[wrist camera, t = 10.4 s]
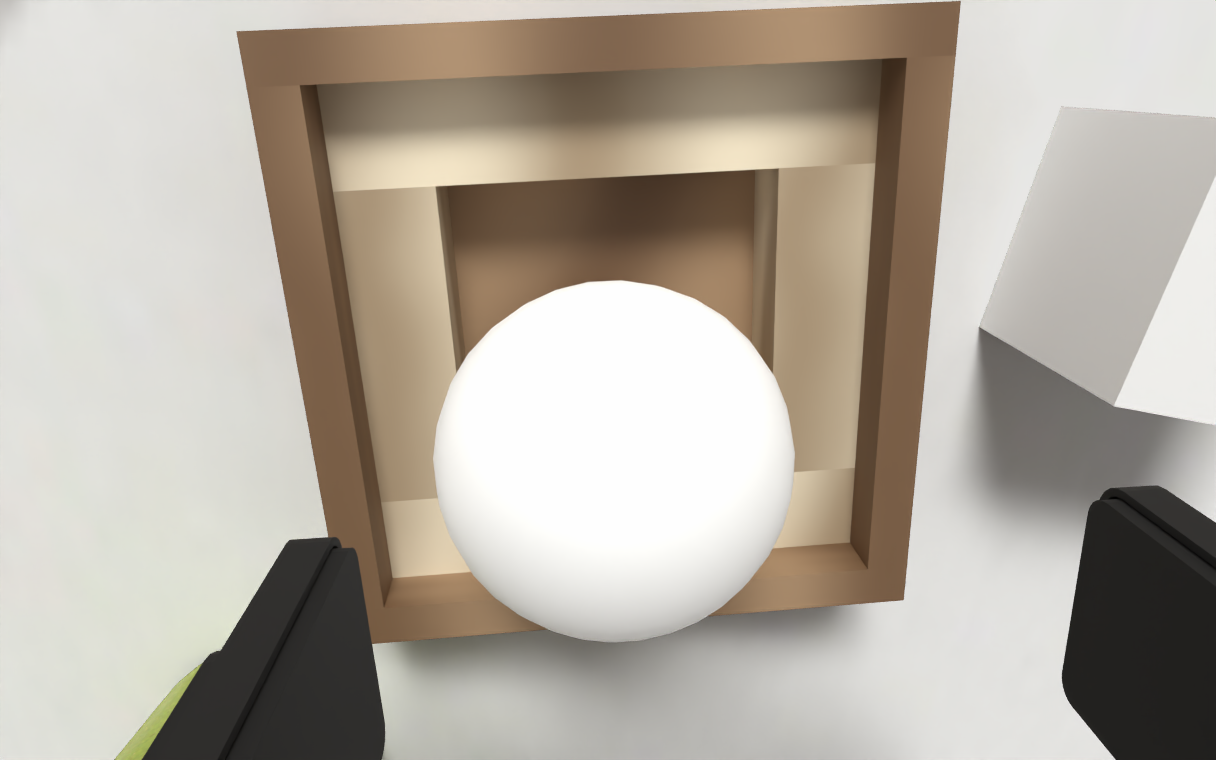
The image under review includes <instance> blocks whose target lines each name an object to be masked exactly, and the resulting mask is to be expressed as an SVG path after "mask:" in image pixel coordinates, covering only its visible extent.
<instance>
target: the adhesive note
mask: <svg viewBox="0 0 1216 760" xmlns="http://www.w3.org/2000/svg"><path fill="white" fill-rule="evenodd" d="M979 327H980V328H982V329H983V330H985V331H987V332H989V333H990V334H992V335H994V336H995V337H997V338H999V339H1000V340H1002V341H1004V342H1005V343H1007V344H1009V345H1011V346H1012V347H1014V348H1016V349H1017V350H1019V351H1021V352H1022V353H1024V354H1026V355H1028V356H1029V357H1031V358H1033V359H1034V360H1036V361H1038V362H1039V363H1041V364H1043V365H1044V366H1046V367H1048V368H1050V369H1051V370H1053V371H1055V372H1056V373H1058V374H1060V375H1061V376H1063V377H1065V378H1067V379H1068V380H1070V381H1072V382H1073V383H1075V384H1077V385H1078V386H1080V387H1082V388H1084V389H1085V390H1087V391H1089V392H1090V393H1092V394H1094V395H1095V396H1097V397H1099V398H1100V399H1102V400H1104V401H1106V402H1107V403H1109V404H1111V405H1112V406H1115V407H1120V408H1125V409H1131V410H1136V411H1142V412H1147V413H1152V414H1158V415H1163V416H1168V417H1174V418H1179V419H1184V420H1190V421H1195V422H1201V423H1206V424H1211V425H1216V118H1214V117H1200V116H1186V115H1173V114H1159V113H1145V112H1131V111H1117V110H1103V109H1090V108H1076V107H1062V106H1061V108H1060V111H1059V114H1058V116H1057V119H1056V122H1055V125H1054V127H1053V130H1052V133H1051V135H1050V138H1049V141H1048V143H1047V146H1046V149H1045V151H1044V154H1043V157H1042V159H1041V162H1040V165H1039V167H1038V170H1037V173H1036V176H1035V178H1034V181H1033V184H1032V186H1031V189H1030V192H1029V194H1028V197H1027V200H1026V202H1025V205H1024V208H1023V210H1022V213H1021V216H1020V218H1019V221H1018V224H1017V227H1016V229H1015V232H1014V235H1013V237H1012V240H1011V243H1010V245H1009V248H1008V251H1007V253H1006V256H1005V259H1004V261H1003V264H1002V267H1001V269H1000V272H999V275H998V277H997V280H996V283H995V286H994V288H993V291H992V294H991V296H990V299H989V302H988V304H987V307H986V310H985V312H984V315H983V318H982V320H981V323H980V326H979Z"/></svg>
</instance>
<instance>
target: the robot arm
mask: <svg viewBox="0 0 1216 760" xmlns="http://www.w3.org/2000/svg"><path fill="white" fill-rule="evenodd" d="M1062 683H1063V688H1064V692H1065V695H1066V697H1067V699H1068V701H1069V703H1070V704H1071V706H1072V707H1073V708H1074V709H1075V711H1076V712H1077V713H1078V714H1079V715H1080V717H1081V718H1082V719H1083V720H1084V722H1085V723H1086V724H1087V725H1088V726H1089V728H1090V729H1091V730H1092V731H1093V732H1094V734H1095V735H1096V736H1097V737H1098V739H1099V740H1100V741H1101V742H1102V743H1103V745H1104V746H1105V747H1106V748H1107V750H1108V751H1109V752H1110V753H1111V754H1112V756H1113V757H1114V758H1115V759H1116V760H1216V523H1215V522H1214V521H1212V520H1211V519H1209V518H1208V517H1206V516H1205V515H1203V514H1202V513H1200V512H1199V511H1197V510H1196V509H1194V508H1193V507H1191V506H1190V505H1188V504H1187V503H1185V502H1184V501H1182V500H1181V499H1179V498H1178V497H1176V496H1175V495H1173V494H1172V493H1170V492H1169V491H1167V490H1166V489H1164V488H1162V487H1159V486H1139V487H1123V488H1110V489H1108V490H1106V491H1105V492H1104V493H1103V495H1102V496H1101V498H1100V500H1097V501H1095V502H1093V503H1092V505H1091V506H1090V508H1089V511H1088V516H1087V522H1086V528H1085V534H1084V541H1083V547H1082V553H1081V559H1080V565H1079V572H1078V578H1077V584H1076V590H1075V596H1074V602H1073V609H1072V615H1071V621H1070V627H1069V633H1068V639H1067V646H1066V652H1065V658H1064V664H1063V670H1062ZM384 743H385V722H384V715H383V709H382V703H381V697H380V691H379V684H378V678H377V672H376V666H375V660H374V654H373V647H372V641H371V635H370V629H369V623H368V617H367V610H366V604H365V598H364V592H363V586H362V580H361V573H360V567H359V561H358V556H357V553H356V550H355V549H354V548H353V547H352V548H342V545H341V543H340V540H339V539H338V538H337V537H327V538H311V539H295V540H289V541H288V542H287V543H286V545H285V546H284V548H283V550H282V551H281V553H280V555H279V556H278V558H277V559H276V561H275V563H274V564H273V566H272V568H271V569H270V571H269V573H268V574H267V576H266V578H265V579H264V581H263V582H262V584H261V586H260V587H259V589H258V591H257V592H256V594H255V596H254V597H253V599H252V600H251V602H250V604H249V605H248V607H247V609H246V610H245V612H244V614H243V615H242V617H241V618H240V620H239V622H238V623H237V625H236V627H235V628H234V630H233V632H232V633H231V635H230V636H229V638H228V640H227V641H226V643H225V645H224V646H223V648H222V650H221V651H216V652H214V653H212V654H210V655H209V656H208V657H207V658H206V659H205V661H204V662H203V663H202V665H201V666H200V668H199V669H198V671H197V673H196V674H195V676H194V677H193V679H192V680H191V682H190V684H189V685H188V687H187V688H186V690H185V692H184V693H183V695H182V696H181V698H180V700H179V701H178V703H177V704H176V706H175V707H174V709H173V711H172V712H171V714H170V715H169V717H168V719H167V720H166V722H165V723H164V725H163V727H162V728H161V730H160V731H159V733H158V734H157V736H156V738H155V739H154V741H153V742H152V744H151V746H150V747H149V749H148V750H147V752H146V754H145V755H144V757H143V758H142V760H381V759H382V755H383V751H384Z"/></svg>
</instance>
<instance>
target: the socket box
mask: <svg viewBox="0 0 1216 760" xmlns="http://www.w3.org/2000/svg"><path fill="white" fill-rule="evenodd" d="M960 3H961V1H952V2H928V3H904V4H880V5H856V6H832V7H808V8H785V9H761V10H737V11H713V12H689V13H665V14H641V15H618V16H594V17H570V18H546V19H522V20H498V21H475V22H451V23H427V24H403V25H379V26H355V27H331V28H308V29H284V30H260V31H236V32H237V37H238V43H239V48H240V54H241V59H242V65H243V70H244V76H245V81H246V87H247V92H248V98H249V103H250V109H251V114H252V119H253V125H254V130H255V136H256V141H257V147H258V152H259V158H260V163H261V169H262V174H263V180H264V185H265V191H266V196H267V202H268V207H269V213H270V218H271V224H272V229H273V235H274V240H275V246H276V251H277V257H278V262H279V268H280V273H281V279H282V284H283V290H284V295H285V301H286V306H287V312H288V317H289V323H290V328H291V334H292V339H293V345H294V350H295V356H296V361H297V367H298V372H299V378H300V383H301V389H302V394H303V400H304V405H305V411H306V416H307V422H308V427H309V433H310V438H311V444H312V449H313V455H314V460H315V466H316V471H317V476H318V482H319V487H320V493H321V498H322V504H323V509H324V515H325V520H326V526H327V531H328V537H337V538H338V539H339V540H340V543H341V545H342V548H352V547H353V548H354V549H355V550H356V553H357V556H358V561H359V567H360V573H361V580H362V586H363V592H364V598H365V604H366V610H367V617H368V623H369V629H370V635H371V641H372V644H376V643H389V642H401V641H413V640H425V639H437V638H449V637H462V636H474V635H486V634H498V633H510V632H522V631H535V630H547V628H545V627H542V626H540V625H538V624H536V623H534V622H532V621H529V620H528V619H526V618H524V617H522V616H520V615H518V614H517V613H515V612H514V611H513V610H511V609H510V608H508V607H507V606H506V605H504V604H503V603H502V602H500V601H499V600H497V599H496V598H495V597H493V596H492V595H491V593H490V592H489V591H488V590H487V589H486V588H485V587H484V586H483V585H482V584H481V583H480V582H479V581H478V580H477V579H476V578H475V576H474V575H473V574H472V572H471V571H470V569H469V567H468V566H467V564H466V563H465V561H464V559H463V558H462V556H461V554H460V553H459V551H458V549H457V548H456V546H455V544H454V542H453V541H452V539H451V537H450V535H449V533H448V530H447V527H446V524H445V521H444V518H443V515H442V512H441V509H440V507H439V501H438V496H437V489H436V481H435V472H434V463H433V455H434V446H435V436H436V427H437V423H438V420H439V416H440V413H441V410H442V407H443V404H444V401H445V398H446V395H447V392H448V389H449V386H450V384H451V381H452V380H453V378H454V376H455V375H456V373H457V371H458V370H459V368H460V366H461V365H462V363H463V361H464V360H465V358H466V356H467V355H468V353H469V352H470V351H471V350H472V349H473V348H474V347H475V346H476V345H477V343H478V342H479V341H480V340H481V339H482V338H483V337H484V336H485V335H486V334H487V333H488V332H489V330H490V329H491V328H492V327H494V326H495V325H497V324H498V323H499V322H501V321H502V320H504V319H505V318H506V317H508V316H509V315H510V314H512V313H513V312H515V311H516V310H517V309H519V308H520V307H522V306H523V305H525V304H526V303H528V302H531V301H533V300H535V299H537V298H539V297H541V296H544V295H546V294H548V293H550V292H552V291H555V290H557V289H561V288H565V287H570V286H574V285H578V284H582V283H586V282H597V281H619V280H623V281H629V282H636V283H643V284H650V285H656V286H660V287H663V288H666V289H669V290H672V291H675V292H677V293H680V294H683V295H686V296H689V297H691V298H694V299H696V300H698V301H699V302H701V303H703V304H704V305H706V306H708V307H709V308H711V309H713V310H714V311H716V312H718V313H719V314H721V315H722V316H724V317H725V318H726V319H727V320H728V321H729V322H731V323H732V324H733V325H734V326H735V327H736V328H737V329H738V330H739V331H740V332H741V333H742V334H743V335H744V336H745V337H746V338H748V339H749V341H750V342H751V343H752V345H753V346H754V347H755V349H756V350H757V352H758V353H759V355H760V356H761V357H762V359H763V360H764V362H765V363H766V365H767V366H768V368H769V369H770V371H771V372H772V374H773V375H774V376H775V379H776V381H777V384H778V386H779V388H780V391H781V393H782V396H783V398H784V401H785V403H786V406H787V410H788V415H789V421H790V426H791V433H792V439H793V445H794V451H795V459H794V477H793V488H792V494H791V500H790V504H789V507H788V511H787V515H786V518H785V522H784V525H783V529H782V531H781V533H780V535H779V537H778V539H777V541H776V543H775V545H774V547H773V549H772V551H771V552H770V554H769V556H768V557H767V559H766V560H765V561H764V563H763V564H762V565H761V566H760V568H759V569H758V570H757V572H756V573H755V574H754V575H753V577H752V578H751V579H750V581H749V582H748V583H747V584H746V585H745V586H744V587H743V588H742V589H741V590H740V591H739V592H738V593H737V594H736V595H735V596H733V597H732V598H731V599H730V600H729V601H728V602H727V603H726V604H725V605H723V606H722V607H721V608H719V609H718V610H716V611H715V612H713V613H711V614H710V615H708V616H717V615H729V614H741V613H753V612H766V611H778V610H790V609H802V608H814V607H826V606H839V605H851V604H863V603H875V602H887V601H899V600H904V590H905V580H906V569H907V559H908V548H909V538H910V527H911V517H912V506H913V496H914V485H915V475H916V464H917V454H918V443H919V433H920V422H921V412H922V401H923V391H924V380H925V370H926V360H927V349H928V339H929V328H930V318H931V307H932V297H933V286H934V276H935V265H936V255H937V244H938V234H939V223H940V213H941V202H942V192H943V181H944V171H945V160H946V150H947V139H948V129H949V118H950V108H951V97H952V87H953V77H954V66H955V56H956V45H957V35H958V24H959V14H960Z"/></svg>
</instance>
